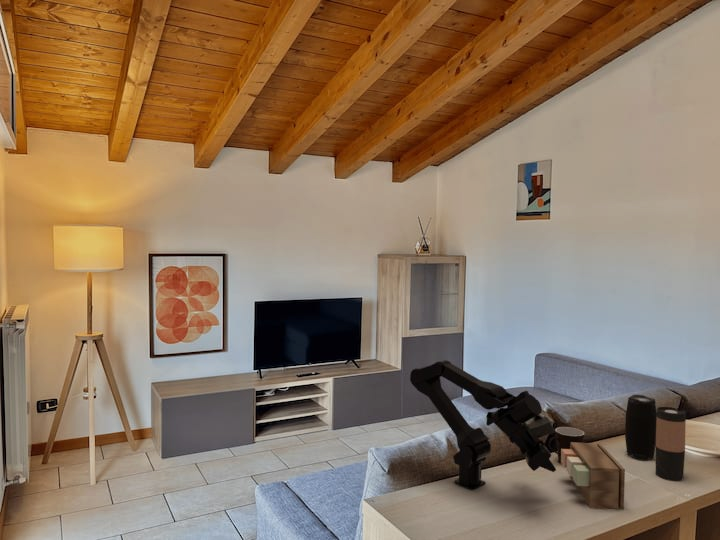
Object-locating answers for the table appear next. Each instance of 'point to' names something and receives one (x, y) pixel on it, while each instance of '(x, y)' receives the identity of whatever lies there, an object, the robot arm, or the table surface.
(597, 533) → the table surface
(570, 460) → the key cream
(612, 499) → the key panel
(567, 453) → the key terracotta
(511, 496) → the table surface
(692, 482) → the table surface
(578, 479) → the key sage
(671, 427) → the travel mug
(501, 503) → the table surface
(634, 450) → the portable speaker
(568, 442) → the coffee mug
